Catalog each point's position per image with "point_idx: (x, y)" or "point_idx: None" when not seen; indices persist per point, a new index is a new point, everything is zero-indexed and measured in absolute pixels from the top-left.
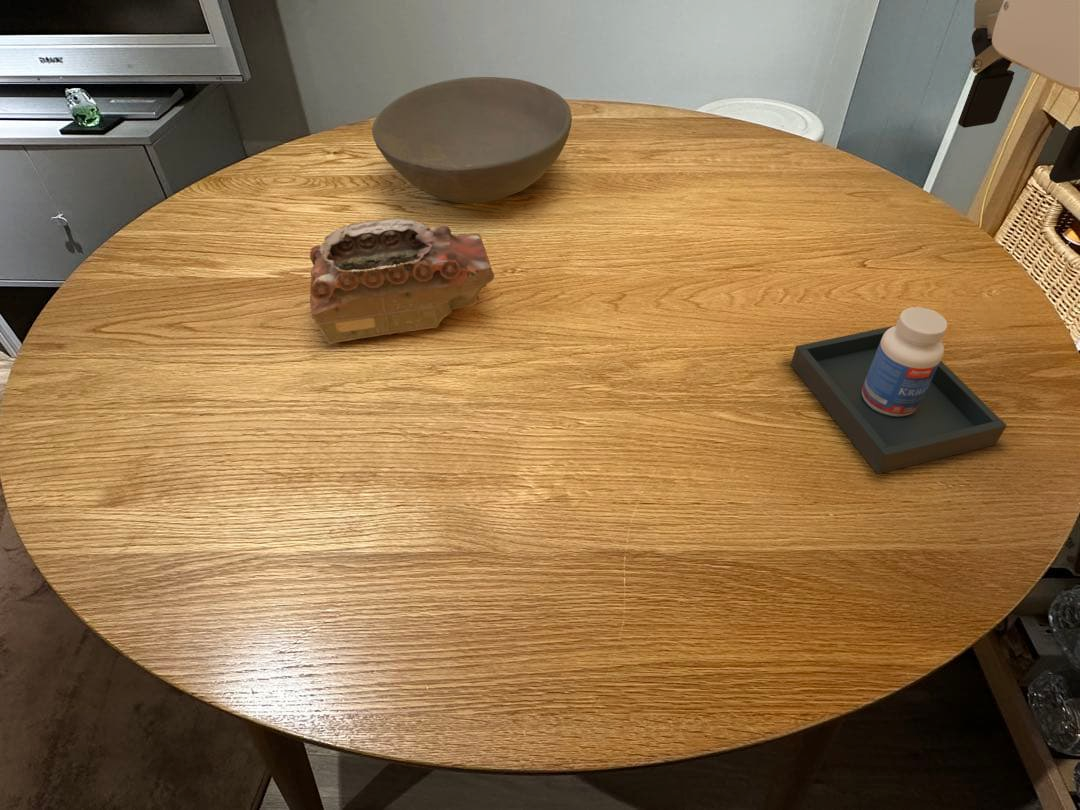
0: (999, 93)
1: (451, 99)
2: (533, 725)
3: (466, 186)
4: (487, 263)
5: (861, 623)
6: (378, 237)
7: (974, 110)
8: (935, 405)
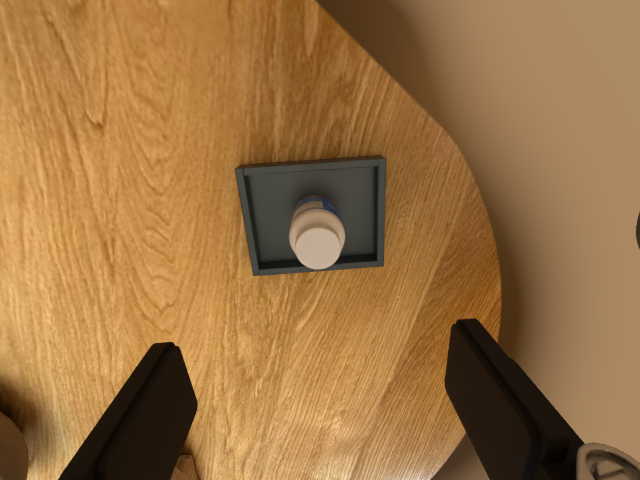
0: (146, 432)
1: None
2: (450, 434)
3: (24, 473)
4: None
5: (466, 311)
6: None
7: (181, 436)
8: (331, 183)
